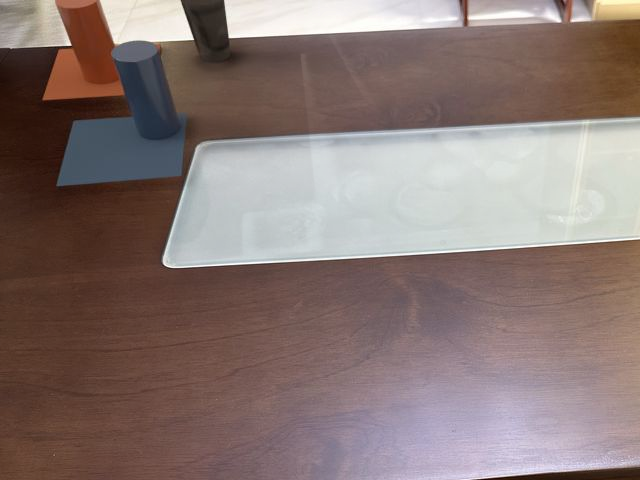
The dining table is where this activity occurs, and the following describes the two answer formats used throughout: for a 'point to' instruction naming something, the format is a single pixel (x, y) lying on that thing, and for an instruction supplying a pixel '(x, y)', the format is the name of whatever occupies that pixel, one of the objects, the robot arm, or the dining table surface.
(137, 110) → the navy blue cylinder
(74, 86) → the terracotta mat
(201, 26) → the beverage cup
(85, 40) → the orange cylinder
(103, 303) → the dining table surface
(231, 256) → the dining table surface
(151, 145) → the blue mat
